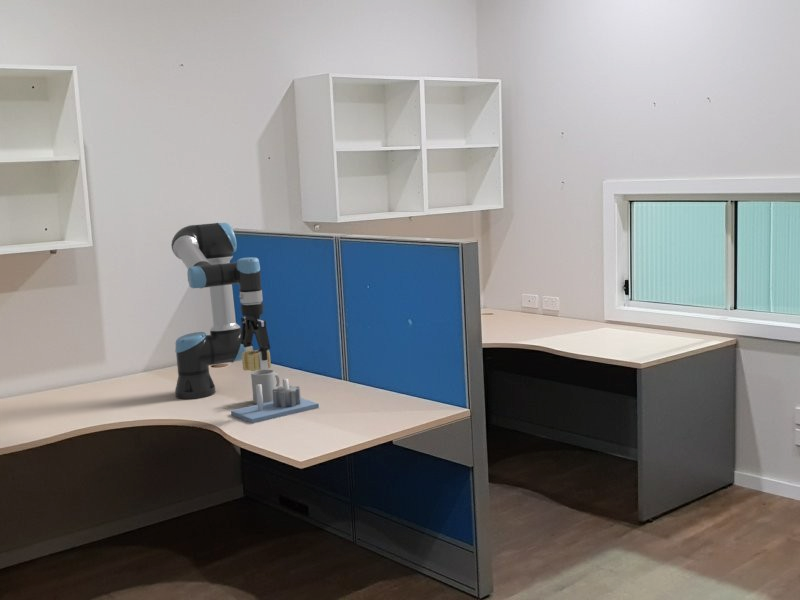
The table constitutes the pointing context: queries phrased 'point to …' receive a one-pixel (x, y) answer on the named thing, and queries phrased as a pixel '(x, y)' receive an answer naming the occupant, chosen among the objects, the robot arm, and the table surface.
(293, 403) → the gear board
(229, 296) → the robot arm
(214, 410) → the table surface
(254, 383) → the mug
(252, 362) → the brass gear
